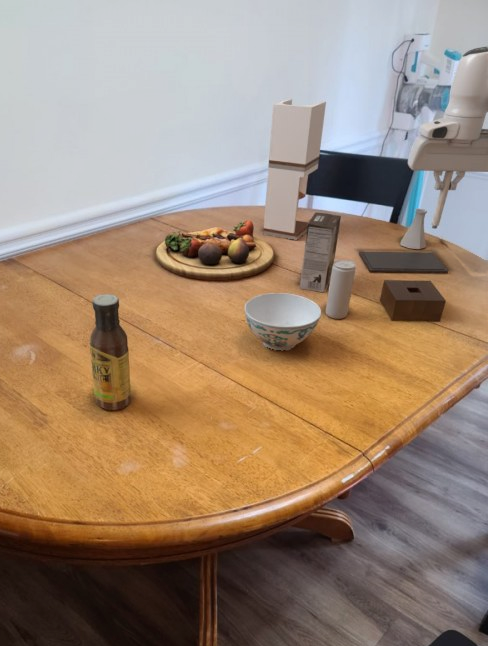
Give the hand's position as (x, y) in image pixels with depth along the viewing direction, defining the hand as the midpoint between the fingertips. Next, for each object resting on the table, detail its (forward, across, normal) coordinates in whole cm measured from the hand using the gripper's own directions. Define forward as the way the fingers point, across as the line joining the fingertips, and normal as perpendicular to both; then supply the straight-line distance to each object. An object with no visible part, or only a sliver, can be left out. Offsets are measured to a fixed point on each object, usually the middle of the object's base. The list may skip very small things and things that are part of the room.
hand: (444, 189), depth 139 cm
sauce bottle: (+20, +74, +66) cm, 101 cm away
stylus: (+10, 0, 0) cm, 10 cm away
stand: (+19, +12, +28) cm, 36 cm away
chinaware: (+20, +43, +44) cm, 65 cm away
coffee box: (+20, +31, +14) cm, 39 cm away
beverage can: (+20, +29, +31) cm, 47 cm away
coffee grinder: (+20, +34, -24) cm, 46 cm away
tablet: (+19, +6, 0) cm, 20 cm away
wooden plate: (+20, +56, -2) cm, 60 cm away
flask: (+20, -1, -14) cm, 24 cm away
